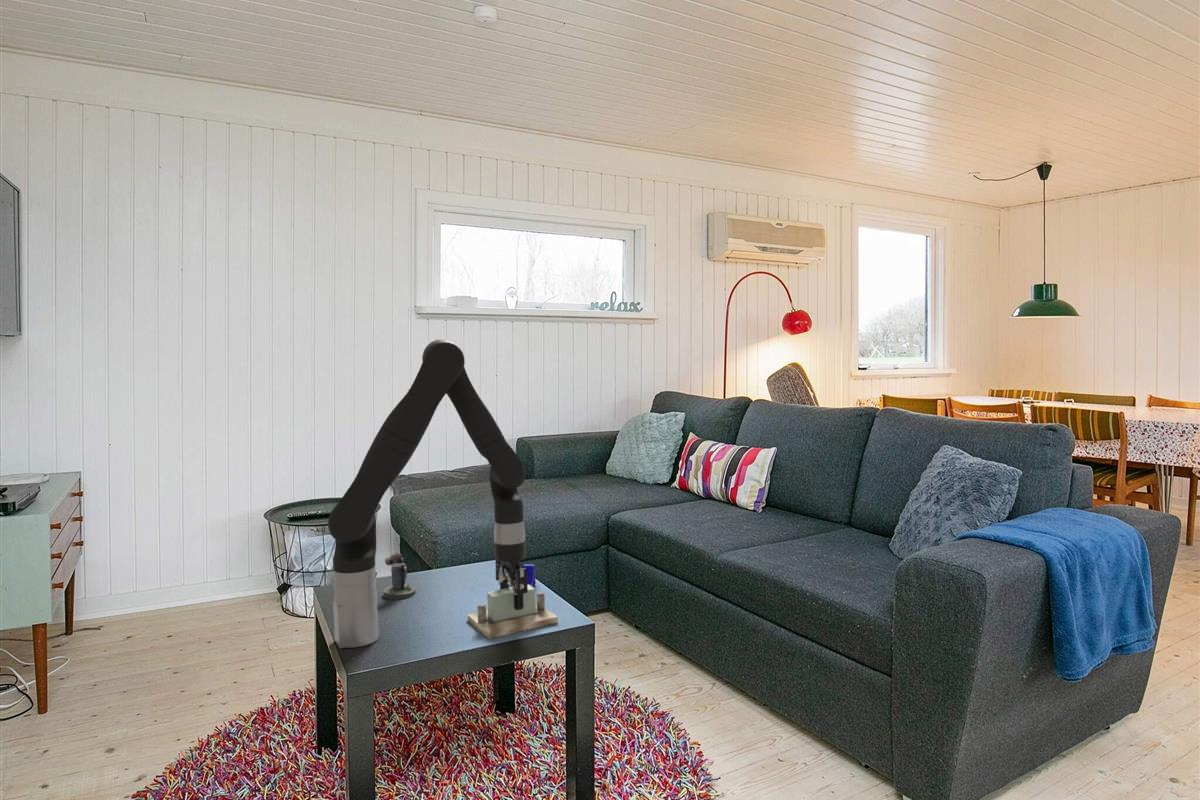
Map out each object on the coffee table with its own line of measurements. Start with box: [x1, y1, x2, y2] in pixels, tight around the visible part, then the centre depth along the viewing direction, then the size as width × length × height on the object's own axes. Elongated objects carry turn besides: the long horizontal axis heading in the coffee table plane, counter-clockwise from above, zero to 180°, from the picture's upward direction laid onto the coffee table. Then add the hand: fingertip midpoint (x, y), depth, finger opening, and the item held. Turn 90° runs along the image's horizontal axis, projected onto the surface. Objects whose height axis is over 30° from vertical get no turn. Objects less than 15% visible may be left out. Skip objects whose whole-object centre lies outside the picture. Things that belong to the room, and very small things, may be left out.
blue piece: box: [514, 563, 537, 588], centre depth 200 cm, size 12×4×6 cm, turn 170°
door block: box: [486, 585, 537, 621], centre depth 177 cm, size 11×4×6 cm, turn 119°
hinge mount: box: [467, 592, 559, 639], centre depth 177 cm, size 18×14×6 cm
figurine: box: [383, 552, 416, 600], centre depth 200 cm, size 8×8×12 cm
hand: (511, 604), depth 177 cm, fingers open, 8 cm apart
